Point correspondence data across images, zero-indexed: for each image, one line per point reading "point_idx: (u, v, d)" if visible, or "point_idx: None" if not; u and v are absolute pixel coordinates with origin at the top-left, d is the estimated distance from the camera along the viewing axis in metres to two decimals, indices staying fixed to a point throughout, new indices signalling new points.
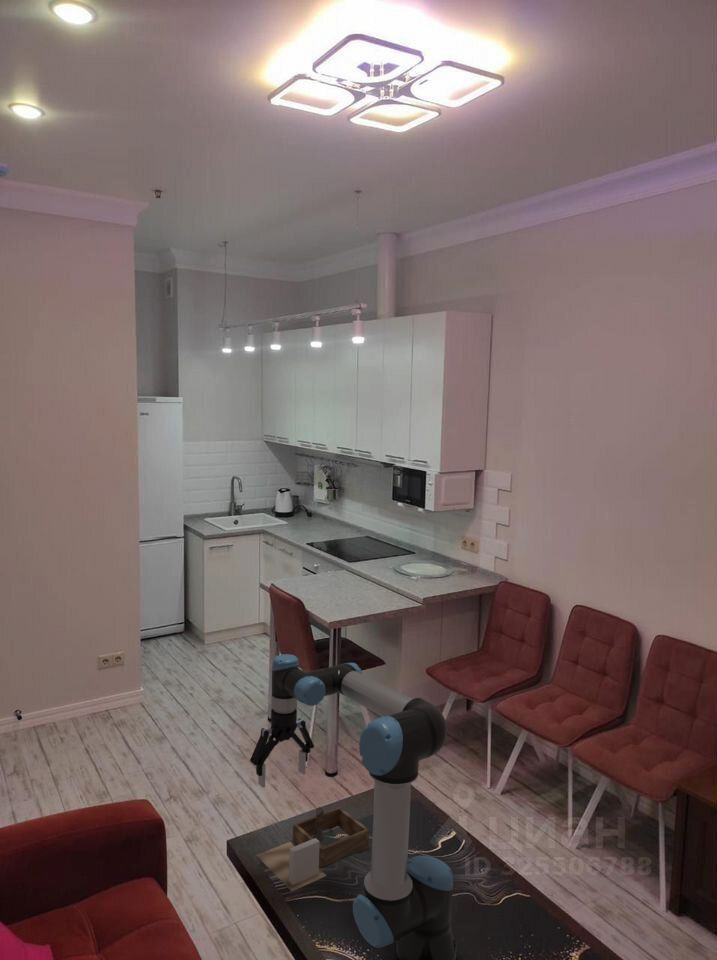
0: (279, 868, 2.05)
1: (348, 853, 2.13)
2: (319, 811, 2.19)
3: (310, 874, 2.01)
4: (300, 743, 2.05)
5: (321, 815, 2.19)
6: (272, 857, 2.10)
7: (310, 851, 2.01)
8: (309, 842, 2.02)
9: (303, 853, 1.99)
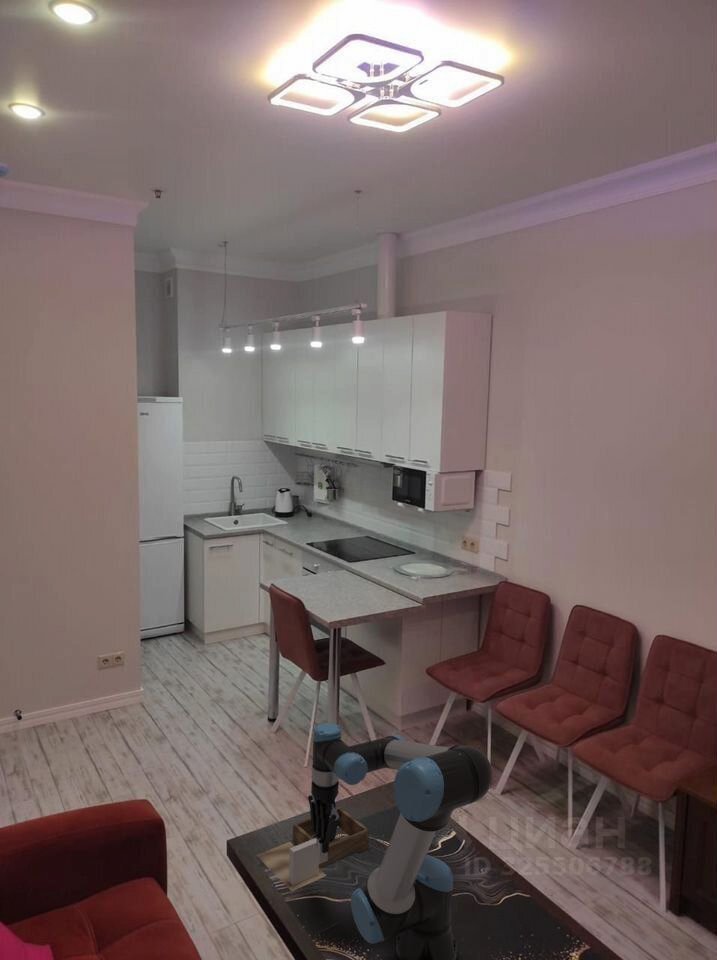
0: (279, 868, 2.05)
1: (348, 853, 2.13)
2: None
3: (310, 874, 2.01)
4: (322, 827, 1.91)
5: None
6: (272, 857, 2.10)
7: (310, 851, 2.01)
8: (309, 842, 2.02)
9: (303, 853, 1.99)
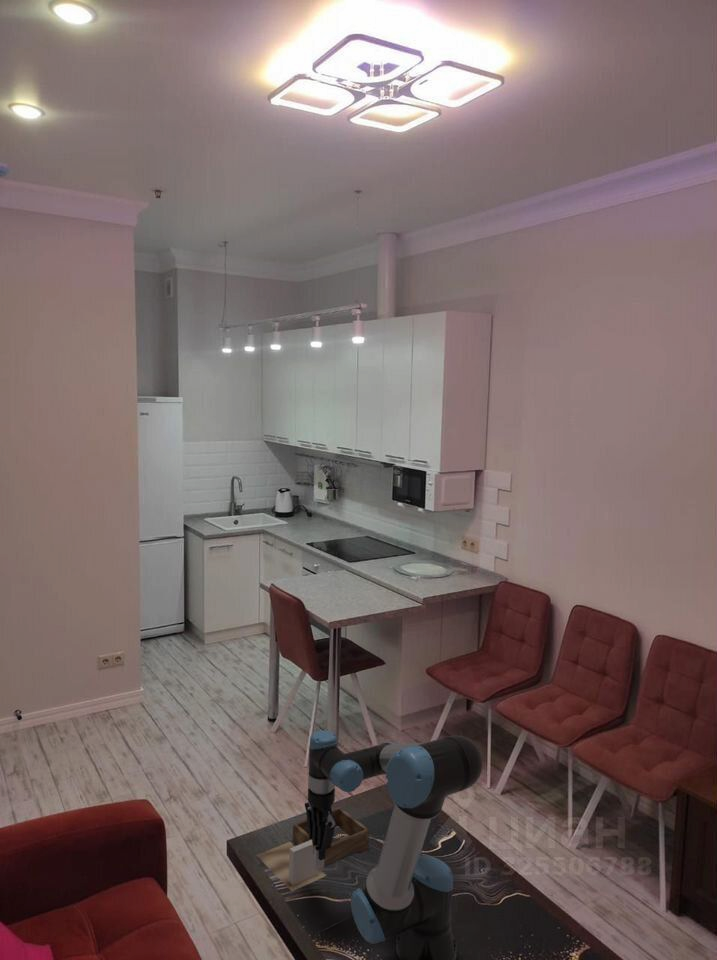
0: (279, 868, 2.05)
1: (348, 853, 2.13)
2: None
3: (310, 874, 2.01)
4: (318, 834, 1.93)
5: None
6: (272, 857, 2.10)
7: (310, 851, 2.01)
8: (309, 842, 2.02)
9: (303, 853, 1.99)
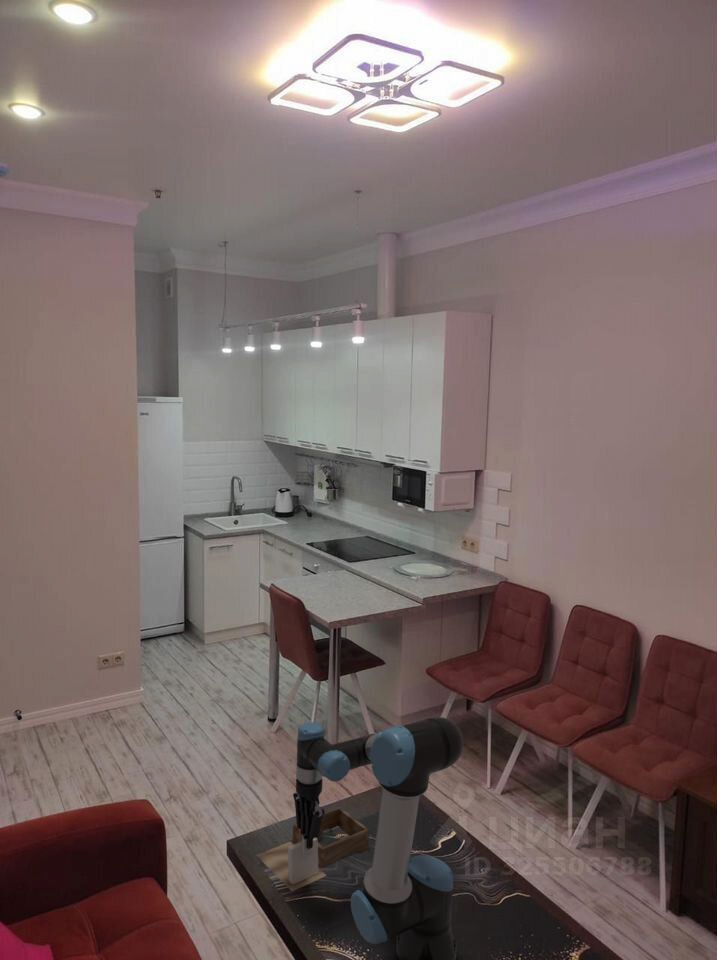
0: (279, 868, 2.05)
1: (348, 853, 2.13)
2: None
3: (310, 873, 2.02)
4: (306, 824, 1.97)
5: None
6: (272, 857, 2.10)
7: None
8: None
9: None
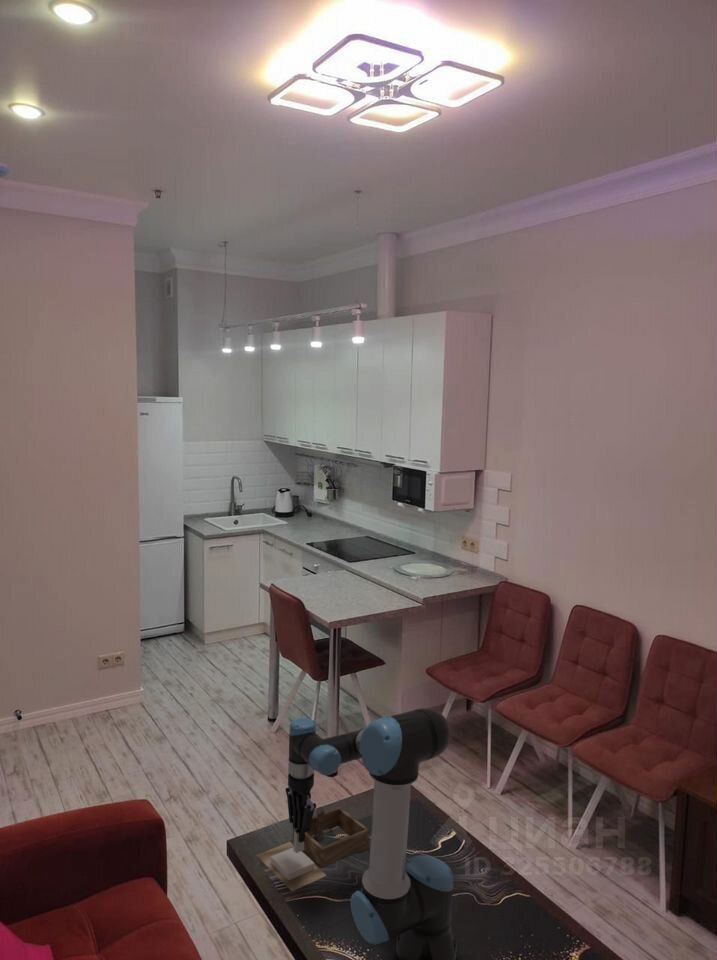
0: None
1: (348, 853, 2.13)
2: (320, 810, 2.19)
3: (304, 864, 2.04)
4: (298, 818, 2.01)
5: (322, 815, 2.19)
6: None
7: (290, 852, 2.09)
8: None
9: (283, 855, 2.08)
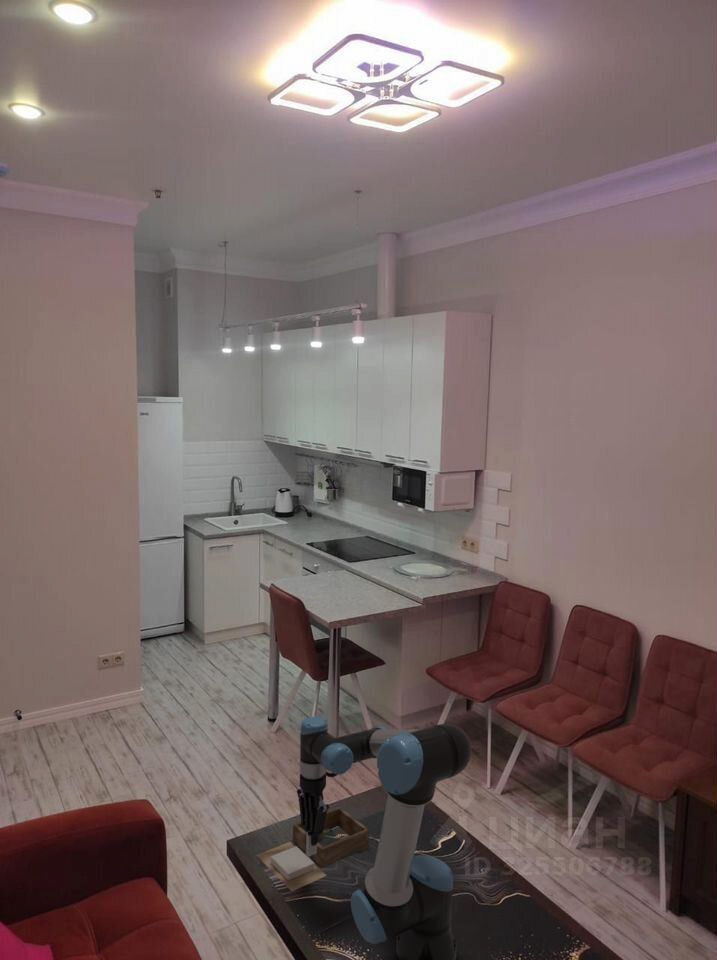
0: None
1: (348, 853, 2.13)
2: None
3: (304, 864, 2.04)
4: (310, 820, 1.96)
5: None
6: None
7: (290, 852, 2.09)
8: None
9: (283, 855, 2.08)
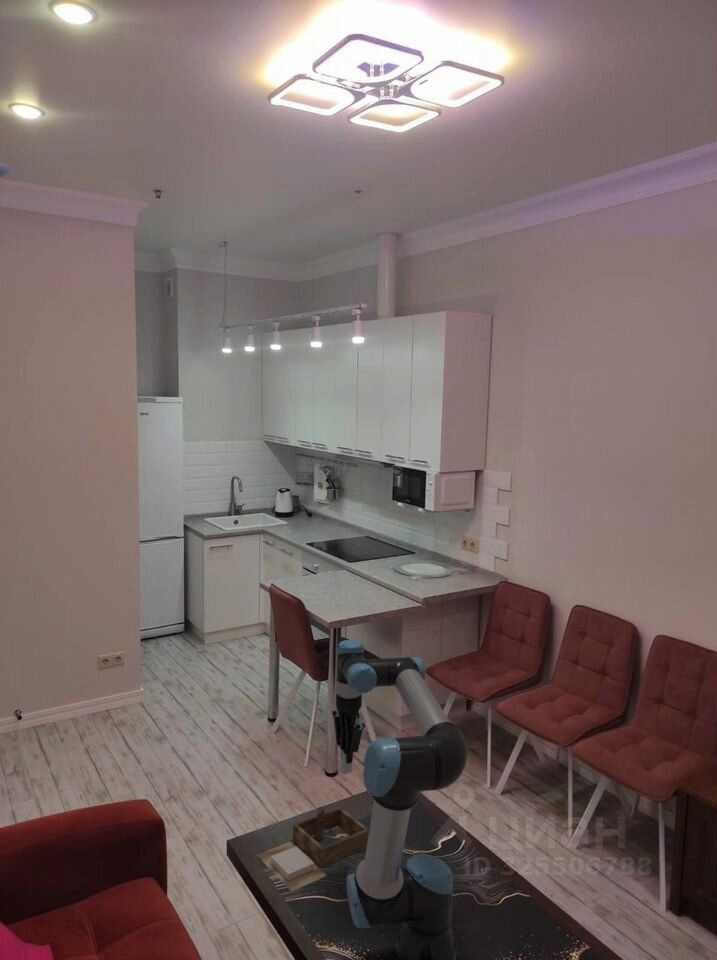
0: None
1: (348, 853, 2.13)
2: (320, 810, 2.19)
3: (304, 864, 2.04)
4: (346, 738, 2.01)
5: (322, 815, 2.19)
6: None
7: (290, 852, 2.09)
8: None
9: (283, 855, 2.08)
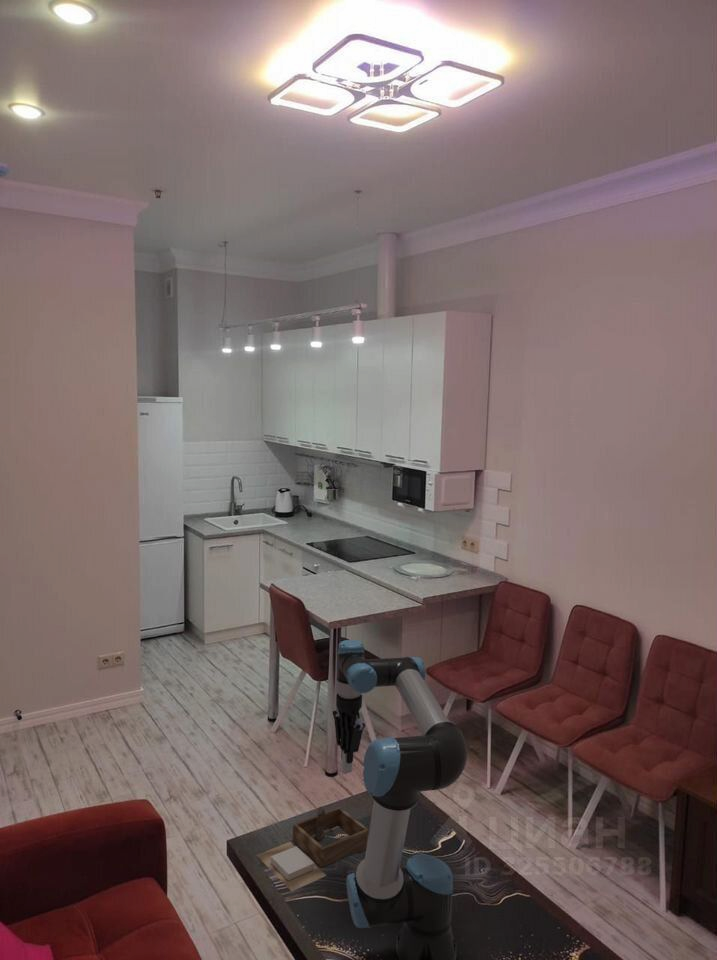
0: None
1: (348, 853, 2.13)
2: (320, 810, 2.19)
3: (304, 864, 2.04)
4: (346, 738, 2.01)
5: (322, 815, 2.19)
6: None
7: (290, 852, 2.09)
8: None
9: (283, 855, 2.08)
